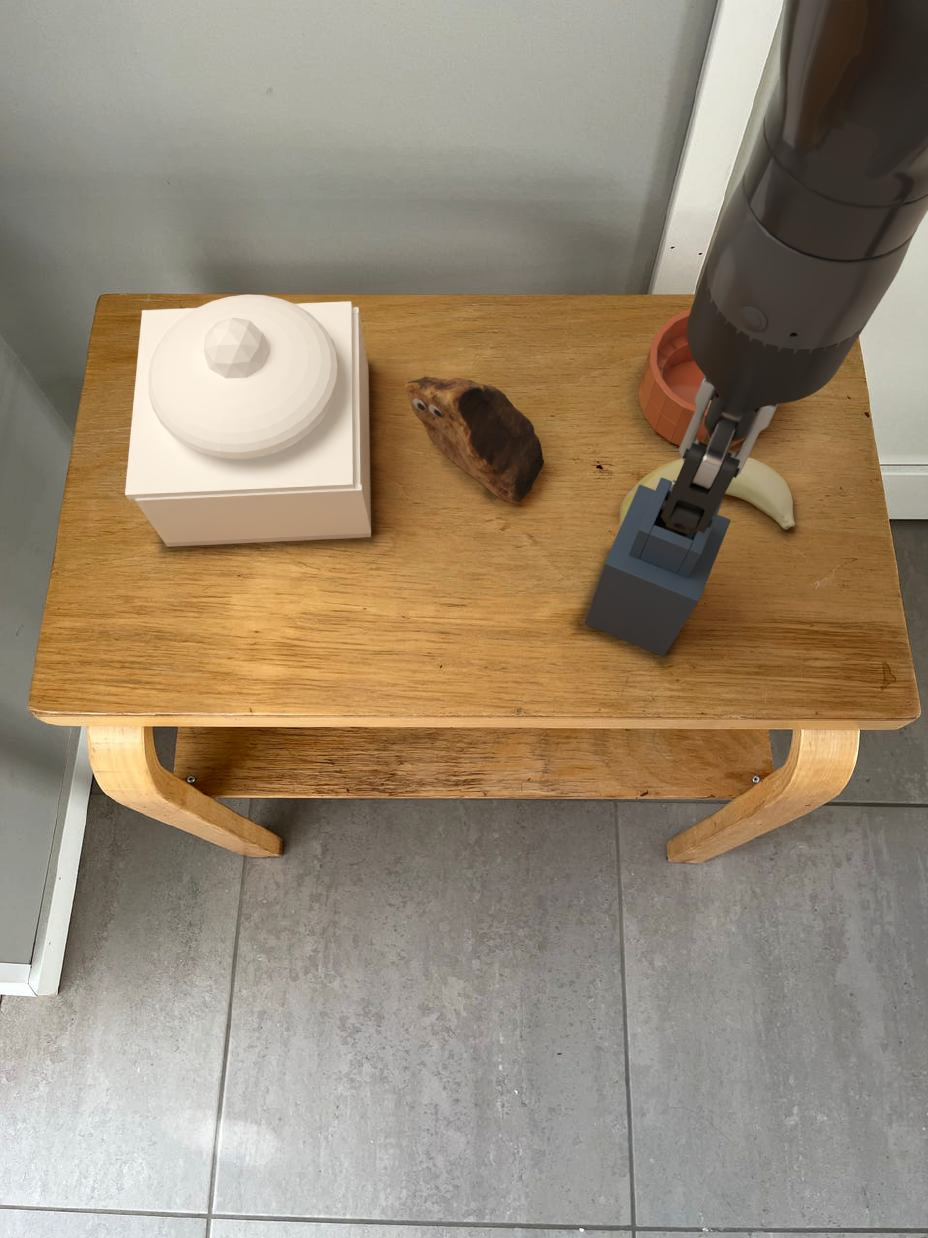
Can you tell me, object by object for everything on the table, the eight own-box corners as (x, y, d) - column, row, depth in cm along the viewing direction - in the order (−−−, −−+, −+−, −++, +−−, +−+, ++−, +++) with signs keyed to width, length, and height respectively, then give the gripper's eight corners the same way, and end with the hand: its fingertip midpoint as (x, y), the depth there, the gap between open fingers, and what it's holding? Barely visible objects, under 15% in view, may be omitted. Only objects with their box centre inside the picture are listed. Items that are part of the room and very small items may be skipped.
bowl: (777, 375, 84) (799, 333, 78) (738, 472, 80) (759, 435, 75) (662, 334, 86) (676, 289, 80) (619, 427, 82) (631, 387, 77)
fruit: (607, 472, 80) (612, 453, 77) (775, 458, 81) (788, 438, 78) (619, 546, 78) (625, 529, 75) (793, 531, 78) (807, 513, 75)
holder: (692, 585, 77) (747, 491, 62) (663, 657, 74) (713, 578, 59) (614, 553, 78) (650, 454, 63) (583, 623, 75) (613, 538, 60)
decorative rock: (405, 445, 81) (396, 371, 71) (447, 400, 83) (444, 322, 73) (512, 520, 79) (518, 454, 69) (553, 471, 80) (566, 400, 70)
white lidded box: (371, 537, 78) (349, 435, 63) (160, 547, 78) (89, 447, 63) (369, 366, 85) (348, 237, 70) (173, 374, 84) (111, 247, 69)
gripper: (831, 432, 37) (725, 588, 52) (919, 188, 42) (799, 396, 57) (657, 368, 38) (602, 539, 53) (762, 137, 43) (684, 355, 58)
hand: (704, 465), depth 55 cm, fingers open, 8 cm apart
